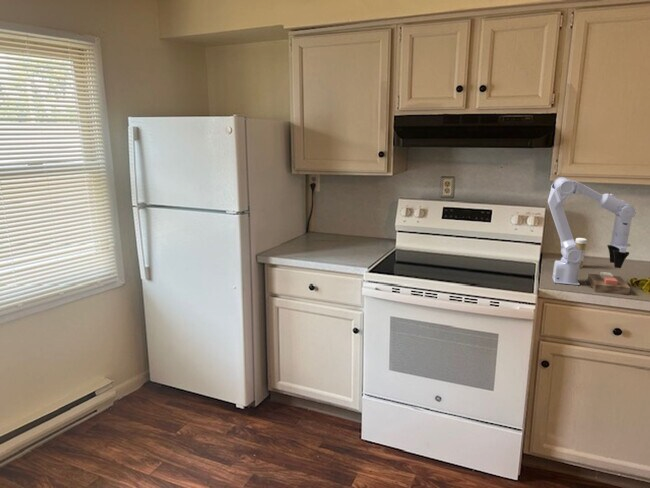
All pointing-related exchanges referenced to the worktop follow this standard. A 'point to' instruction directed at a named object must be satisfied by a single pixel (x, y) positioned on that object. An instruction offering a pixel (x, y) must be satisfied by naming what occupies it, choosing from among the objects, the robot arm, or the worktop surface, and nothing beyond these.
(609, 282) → the red key
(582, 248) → the sprinkles bottle
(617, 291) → the key box
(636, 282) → the worktop surface
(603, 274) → the white key
